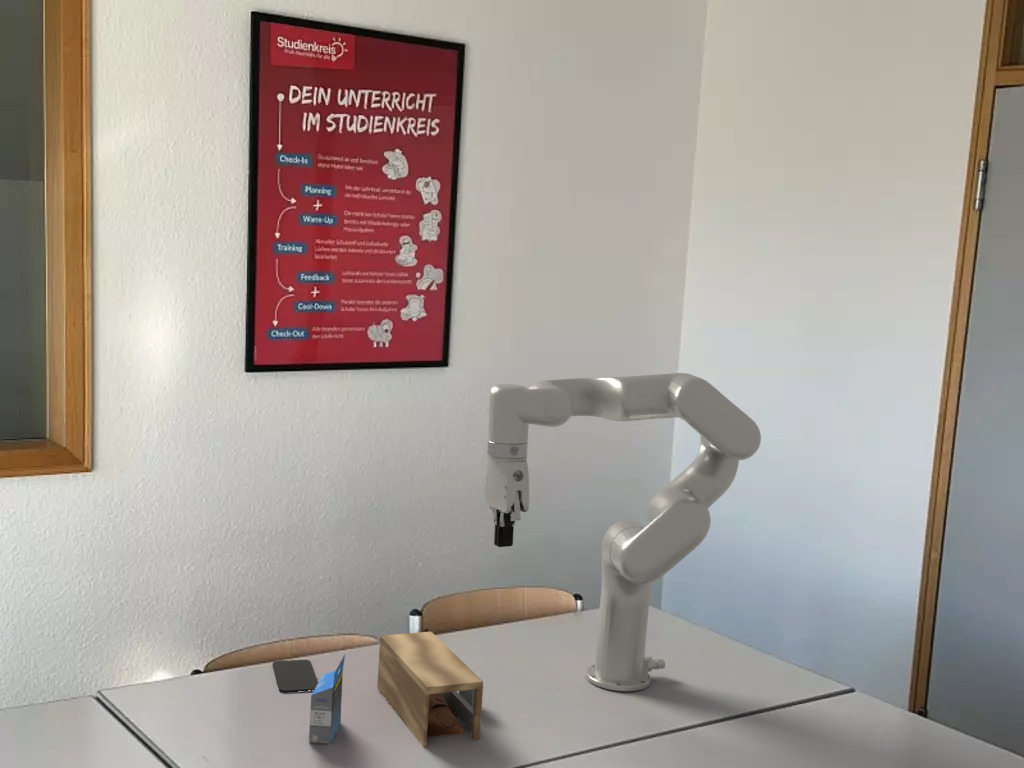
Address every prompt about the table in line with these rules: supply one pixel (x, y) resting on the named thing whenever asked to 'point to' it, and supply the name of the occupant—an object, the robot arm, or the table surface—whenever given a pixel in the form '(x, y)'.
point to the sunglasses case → (441, 718)
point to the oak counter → (423, 678)
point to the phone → (295, 675)
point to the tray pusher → (461, 704)
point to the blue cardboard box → (326, 707)
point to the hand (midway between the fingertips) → (503, 545)
